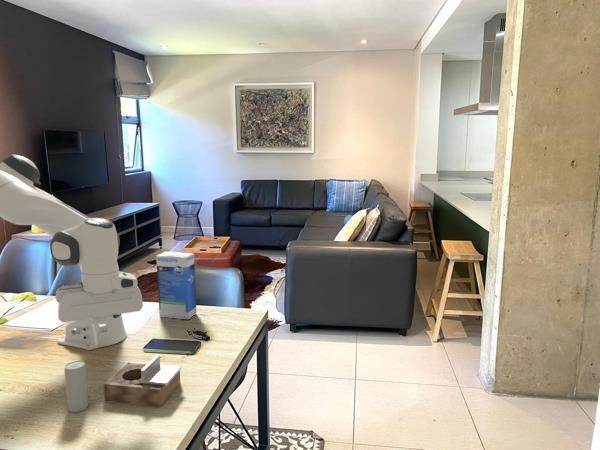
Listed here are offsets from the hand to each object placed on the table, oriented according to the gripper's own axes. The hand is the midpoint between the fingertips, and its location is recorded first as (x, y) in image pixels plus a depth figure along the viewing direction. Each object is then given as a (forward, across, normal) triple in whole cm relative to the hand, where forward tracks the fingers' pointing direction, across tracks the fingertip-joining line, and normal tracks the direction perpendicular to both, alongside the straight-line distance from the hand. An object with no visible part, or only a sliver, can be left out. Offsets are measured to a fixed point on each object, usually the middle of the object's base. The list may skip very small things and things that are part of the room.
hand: (102, 331), depth 116 cm
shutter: (+13, +14, -6) cm, 20 cm away
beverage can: (+19, -7, -2) cm, 21 cm away
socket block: (+19, +10, -2) cm, 21 cm away
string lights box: (+19, +34, +49) cm, 63 cm away
